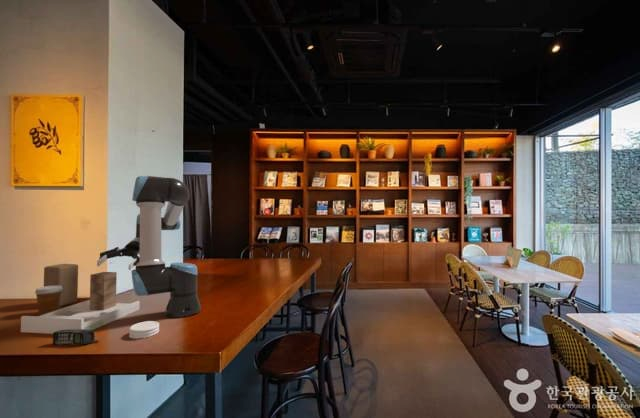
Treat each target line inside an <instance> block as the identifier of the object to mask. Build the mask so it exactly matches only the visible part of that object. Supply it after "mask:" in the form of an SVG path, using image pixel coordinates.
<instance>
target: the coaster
mask: <svg viewBox="0 0 640 418" xmlns="http://www.w3.org/2000/svg"><path fill="white" fill-rule="evenodd" d="M128 332H129V335H128V337H129V338H130V339H132V338H133V339H132V340H141V339H140V338H143V339H147V338H146V337H148V338H151V337H154V336H155V334H156V335H157V334H158V333H159V332H160V323H159V322H158V321H155V320H147V321H142V322H138V323H134V324H132V325H131V326H130V327H129V330H128ZM153 335H154V336H153ZM150 336H151V337H150ZM138 338H139V339H138Z"/></svg>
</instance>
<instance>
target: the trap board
mask: <svg viewBox="0 0 640 418" xmlns="http://www.w3.org/2000/svg"><path fill="white" fill-rule="evenodd" d="M140 308H141V307H140V300H136V301H134V302H131V303H122V302H121V303H119V302H118V303H117V302H116V306H114V307H111V308H108V309H106V310H90V299H87V300H84V301H81V302H78V303H75V304H72V305H69V306H66V307H62V308H58V310H56V311H53V312H50V313H47V314H44V315H38V316H37V315H36V316H35V315H34V316H33V315H22V316H20V333H33V334H34V333H35V334H49V335H50V334H51V335H53V333H54V332H56V331H59V330H69V329H72V330H75V329H87V330H93V331H94V330H96V329H98V328H100V327H102V326H105V325H107V324H109V323H112V322H113V321H116V320H119V319H121V318H122V317H125V316H127V315H129V314H132V313H134V312H136V311H138V310H140Z"/></svg>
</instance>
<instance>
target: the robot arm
mask: <svg viewBox="0 0 640 418" xmlns="http://www.w3.org/2000/svg"><path fill="white" fill-rule="evenodd" d="M131 199H132V201H133V202H135V205H136V207H138V208H139V214H137V215H136V222H135V223H136V226H135V229H136V230H135V237H134V238H133V239H131V241H129V242H128V243H127V244H126V245H125V246H124V247H122V248H119V247H118V246H117V247H114V248H112V249H109V250H105V251H102V252H100V253H99V258H98V260H97V261H96V267H100V266H101V265H103V264H104V263H105V262H106V261H108V259H113V258H117V257H129V258H130V257H131V258H132V259H133V260H132V261H131V262H130V263H129V264H128V271H131V279H132V280H131V281H132V287H133V291H134V294H135V296H137V297H141V296H142V297H143V296H147V297H148V296H152V295H159V294H167V293H169V299H168V302H167V305H166V308H165V314H164V315H165V316H166V317H167V318H173V317H174V318H175V317H179V318H185V317H184V316H187V317H190V316H189V315H191V316H193V315H192V314H195V313H197V312H199V311H200V310H201V309H202V308H201V307H202V306H201V302H200V300H199V297H198V275H199V274H198V266H197V265H196V264H194V263H188V262H172V263H170V265H169V266H166V262H165V261H164V260H163V259H162V231H177V230H179V229H180V228H181V219H180V216H181V214H182V212H183V209H184V206H186V205H187V204H188V202H189V200H190V191H189V188H188V186H187V185H186V184H185V183H184V182H183V181H181V180H179V179H178V178H174V177H165V176H163V177H162V176H154V175H153V176H151V175H150V176H149V175H147V176H146V175H138V176H137V177H136V178H135V181H134V186H133V193H132V198H131ZM166 203H167V206H166V209H165V212H164V215H163V217H162V208H164V206H165V205H166ZM134 267H135V269H133V268H134ZM200 312H201V311H200ZM200 312H199V313H200ZM197 314H198V313H197ZM195 315H196V314H195ZM174 318H173V319H174ZM175 319H176V318H175Z"/></svg>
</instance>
